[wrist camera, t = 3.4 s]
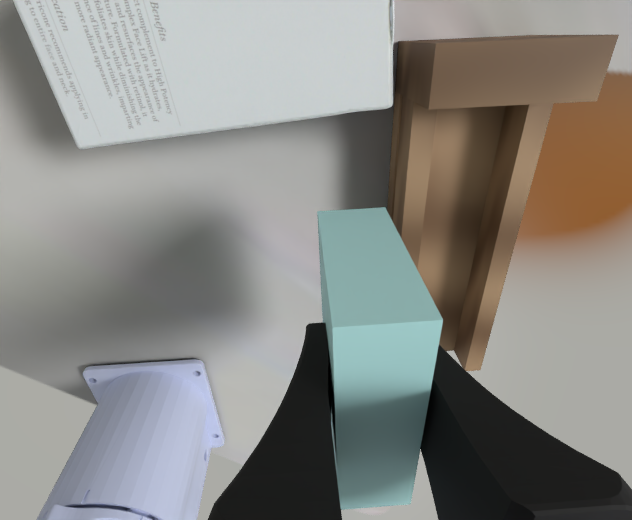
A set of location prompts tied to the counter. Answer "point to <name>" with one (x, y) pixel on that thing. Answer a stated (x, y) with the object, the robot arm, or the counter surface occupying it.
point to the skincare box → (208, 63)
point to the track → (476, 160)
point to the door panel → (375, 355)
